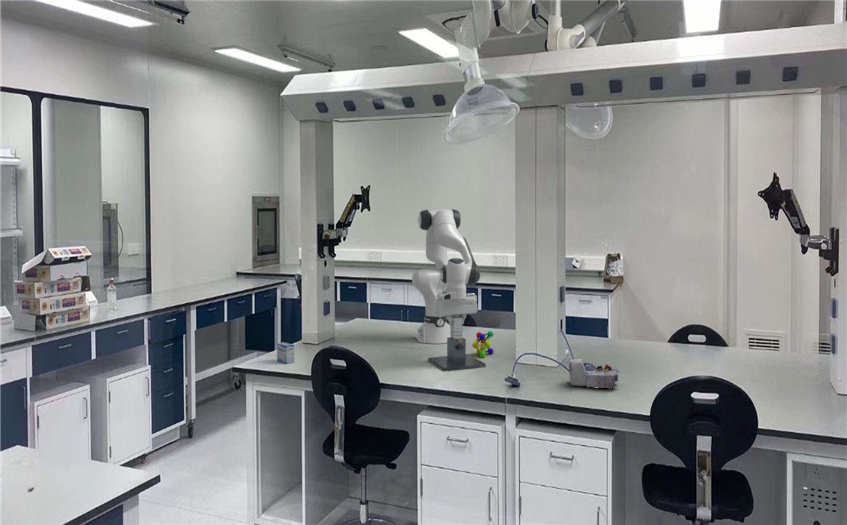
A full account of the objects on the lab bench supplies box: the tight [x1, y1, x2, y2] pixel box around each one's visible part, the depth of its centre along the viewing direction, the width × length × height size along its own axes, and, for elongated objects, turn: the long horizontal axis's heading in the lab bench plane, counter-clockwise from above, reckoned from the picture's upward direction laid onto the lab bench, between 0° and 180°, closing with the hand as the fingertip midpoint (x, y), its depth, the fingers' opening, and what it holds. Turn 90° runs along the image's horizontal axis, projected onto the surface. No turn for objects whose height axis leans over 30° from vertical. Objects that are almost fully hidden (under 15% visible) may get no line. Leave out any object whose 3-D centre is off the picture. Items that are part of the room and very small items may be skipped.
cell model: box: [568, 358, 620, 389], centre depth 269 cm, size 13×11×20 cm
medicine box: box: [276, 341, 295, 365], centre depth 309 cm, size 8×4×9 cm, turn 47°
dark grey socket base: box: [427, 336, 487, 372], centre depth 304 cm, size 20×20×12 cm
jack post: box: [450, 315, 463, 340], centre depth 303 cm, size 4×4×17 cm
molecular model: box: [472, 330, 495, 359], centre depth 320 cm, size 12×7×12 cm, turn 145°
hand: (456, 324), depth 303 cm, fingers closed on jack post, 4 cm apart
